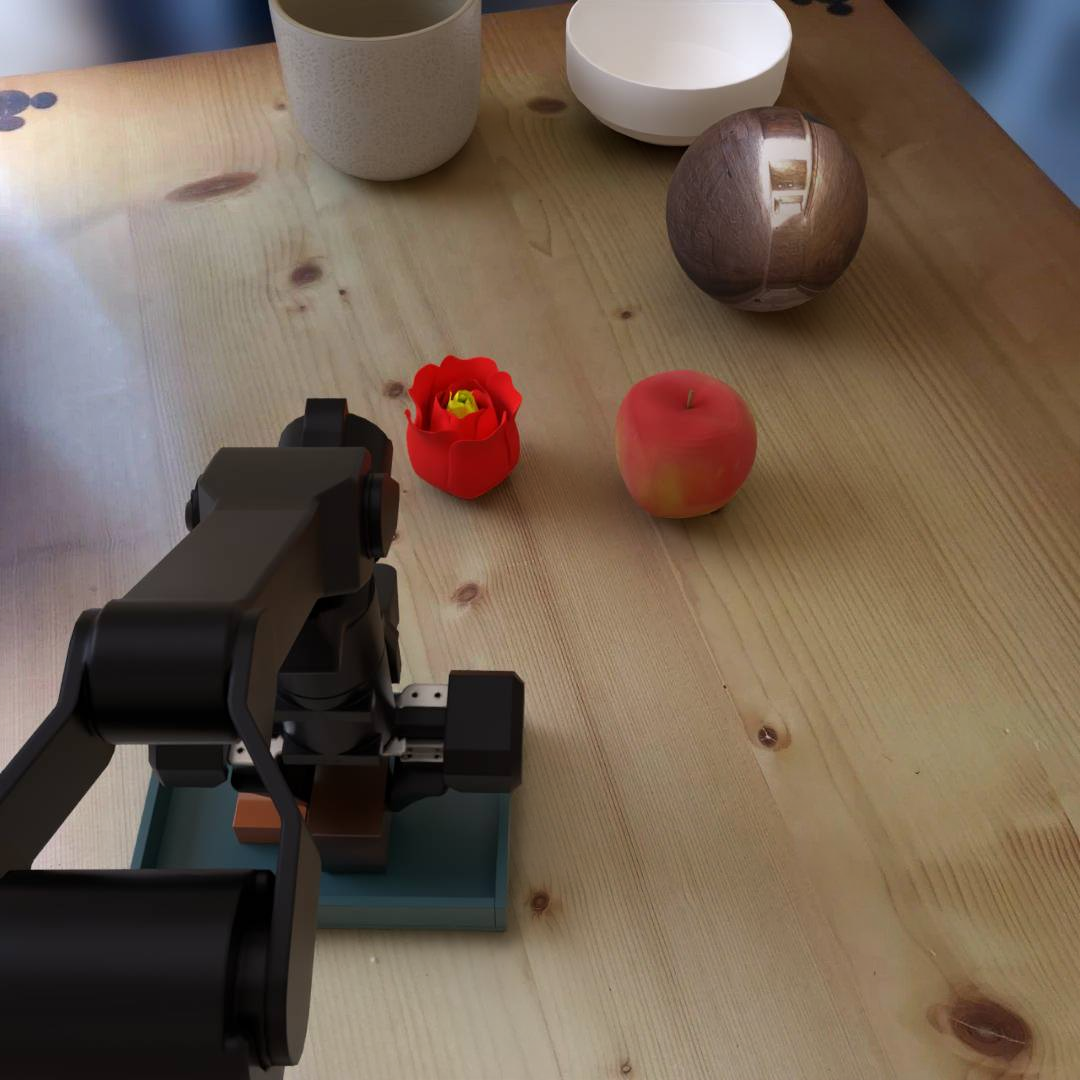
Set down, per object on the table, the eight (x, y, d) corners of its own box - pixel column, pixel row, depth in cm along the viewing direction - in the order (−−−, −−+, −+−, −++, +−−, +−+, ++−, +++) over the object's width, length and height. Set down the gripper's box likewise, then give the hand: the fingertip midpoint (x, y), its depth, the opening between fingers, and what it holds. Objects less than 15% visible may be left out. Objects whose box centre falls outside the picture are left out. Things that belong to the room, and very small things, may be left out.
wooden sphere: (703, 370, 98) (726, 206, 87) (631, 250, 107) (642, 86, 95) (881, 328, 101) (926, 163, 90) (796, 214, 110) (827, 51, 99)
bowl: (577, 46, 127) (580, -38, 120) (781, 63, 125) (794, -22, 118) (550, 166, 114) (551, 79, 108) (775, 186, 113) (790, 99, 106)
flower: (541, 488, 91) (542, 406, 85) (445, 534, 88) (438, 454, 82) (482, 419, 95) (479, 337, 89) (389, 462, 92) (379, 380, 86)
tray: (135, 925, 71) (121, 902, 68) (181, 716, 79) (170, 688, 77) (507, 931, 71) (506, 908, 68) (513, 721, 79) (513, 693, 77)
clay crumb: (238, 843, 73) (231, 826, 72) (250, 779, 76) (243, 762, 74) (309, 844, 73) (304, 828, 72) (318, 780, 76) (313, 763, 74)
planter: (341, 229, 109) (318, 62, 97) (265, 126, 118) (235, -38, 106) (520, 169, 114) (518, 5, 102) (433, 75, 123) (423, -86, 111)
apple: (729, 565, 87) (749, 464, 79) (591, 532, 88) (597, 430, 81) (757, 462, 92) (778, 359, 85) (627, 433, 94) (635, 329, 86)
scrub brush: (317, 876, 72) (304, 835, 68) (334, 748, 77) (323, 703, 73) (389, 877, 72) (381, 836, 68) (402, 749, 77) (394, 705, 73)
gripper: (526, 519, 66) (528, 685, 78) (161, 513, 67) (219, 679, 79) (520, 707, 59) (523, 857, 71) (112, 699, 60) (184, 850, 72)
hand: (359, 803), depth 74 cm, fingers closed on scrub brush, 4 cm apart
